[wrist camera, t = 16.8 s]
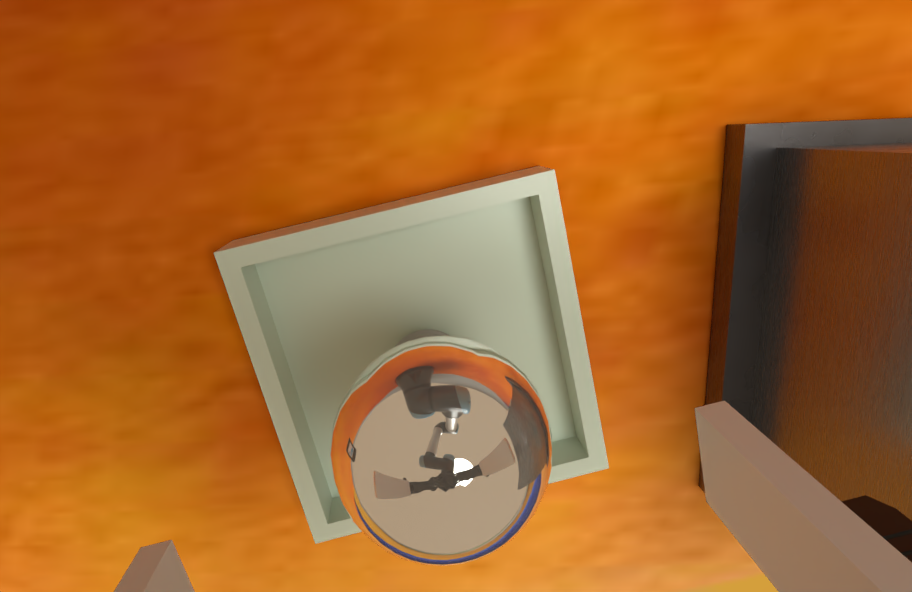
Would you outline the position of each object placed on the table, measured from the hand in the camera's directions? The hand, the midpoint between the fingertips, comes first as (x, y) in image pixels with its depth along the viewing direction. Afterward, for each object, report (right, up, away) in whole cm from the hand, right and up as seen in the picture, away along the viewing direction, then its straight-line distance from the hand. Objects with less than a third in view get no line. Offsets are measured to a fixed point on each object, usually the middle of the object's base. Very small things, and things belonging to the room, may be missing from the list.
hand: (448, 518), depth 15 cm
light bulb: (-1, +3, +13) cm, 13 cm away
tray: (-1, +3, +13) cm, 14 cm away
